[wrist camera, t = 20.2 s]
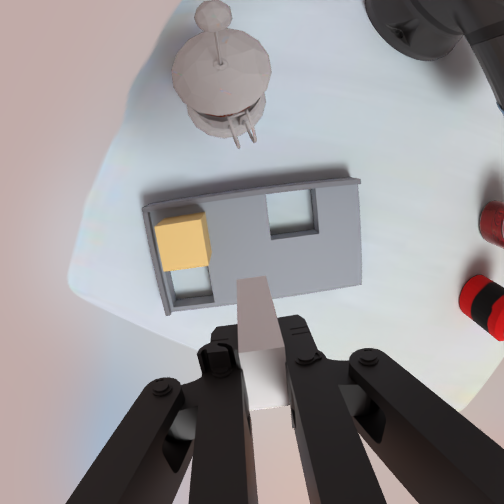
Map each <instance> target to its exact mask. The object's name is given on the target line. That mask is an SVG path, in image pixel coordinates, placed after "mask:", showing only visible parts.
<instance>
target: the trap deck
mask: <svg viewBox="0 0 504 504" xmlns="http://www.w3.org/2000/svg"><path fill="white" fill-rule="evenodd" d="M358 184H361V179H357V178H352V177H348V178H336V179H326V180H316V181H306V182H297V183H288V184H279V185H271V186H263V187H255V188H247V189H240V190H233V191H226V192H219V193H212V194H205V195H199V196H193V197H186V198H180V199H174V200H168V201H163V202H157V203H151V204H148V205H146V206H144V207H143V208H142V212H143V217H144V223H145V228H146V233H147V238H148V243H149V247H150V252H151V257H152V261H153V266H154V270H155V274H156V279H157V283H158V287H159V291H160V295H161V299H162V303H163V307H164V311H165V315H166V316H169V315H171V312H175V311H184V310H193V309H201V308H209V307H218V306H225V305H233V304H237V280H238V279H245V278H252V277H259V276H266V278H267V282H268V286H269V289H270V293H271V297H272V299H276V298H283V297H290V296H296V295H303V294H309V293H315V292H321V291H327V290H333V289H339V288H345V287H351V286H356V285H362V254H361V225H360V206H359V191H358ZM305 189H311V195H312V206H313V217H314V230H306V231H299V232H291V233H284V234H276V235H270V227H269V218H268V210H267V202H266V194H271V193H279V192H287V191H296V190H305ZM200 212H205V213H206V220H207V226H208V232H209V238H210V244H211V250H212V254H211V258H210V263H209V266H208V269H209V274H210V280H211V285H212V291H213V295H209V296H201V297H193V298H185V299H176V295H175V291H174V286H173V282H172V277H171V273H170V271H166V272H164V271H163V267H162V262H161V257H160V253H159V248H158V243H157V238H156V233H155V228H154V227H155V226H156V225H157V224H158V223H159V222H160V221H162V220H163V219H164V218H169V217H175V216H181V215H187V214H193V213H200Z"/></svg>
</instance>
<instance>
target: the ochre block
mask: <svg viewBox="0 0 504 504" xmlns="http://www.w3.org/2000/svg"><path fill="white" fill-rule="evenodd" d="M154 228H155V233H156V238H157V243H158V248H159V253H160V257H161V262H162V267H163V271H164V272H166V271H174V270H181V269H188V268H196V267H203V266H209V263H210V258H211V254H212V250H211V244H210V238H209V232H208V226H207V220H206V213H205V212H200V213H193V214H187V215H181V216H175V217H169V218H164V219H163V220H162V221H160V222H159V223H158V224H157V225H156V226H155V227H154Z"/></svg>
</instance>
